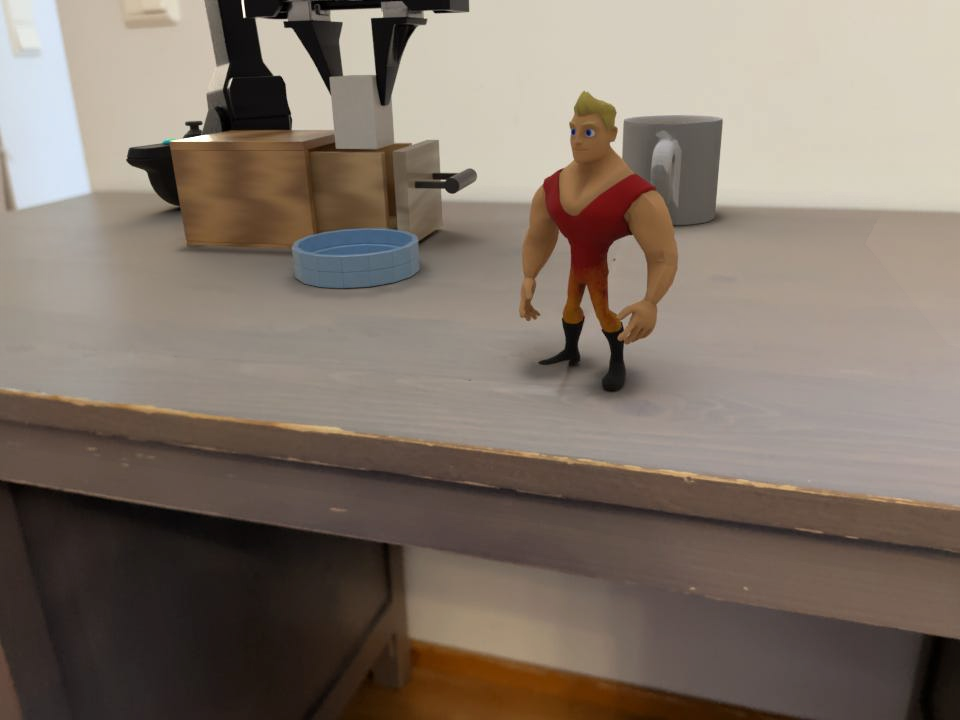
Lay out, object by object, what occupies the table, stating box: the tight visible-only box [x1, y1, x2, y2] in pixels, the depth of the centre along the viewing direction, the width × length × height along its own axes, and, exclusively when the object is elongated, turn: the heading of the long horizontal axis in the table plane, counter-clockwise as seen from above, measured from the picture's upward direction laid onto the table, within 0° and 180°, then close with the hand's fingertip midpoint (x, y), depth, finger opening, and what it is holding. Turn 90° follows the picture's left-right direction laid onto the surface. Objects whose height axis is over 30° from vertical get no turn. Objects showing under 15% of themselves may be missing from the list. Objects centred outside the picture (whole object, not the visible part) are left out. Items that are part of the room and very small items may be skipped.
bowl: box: [291, 228, 421, 289], centre depth 63 cm, size 10×10×3 cm
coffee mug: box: [621, 114, 724, 226], centre depth 81 cm, size 13×10×10 cm
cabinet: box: [169, 129, 335, 250], centre depth 76 cm, size 14×11×10 cm
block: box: [329, 74, 395, 149], centre depth 69 cm, size 4×4×6 cm
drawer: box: [308, 139, 478, 242], centre depth 73 cm, size 17×9×8 cm, turn 75°
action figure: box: [518, 90, 679, 391], centre depth 41 cm, size 10×4×15 cm, turn 49°
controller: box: [125, 120, 204, 207], centre depth 95 cm, size 4×12×10 cm, turn 151°
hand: (362, 105), depth 69 cm, fingers closed on block, 4 cm apart
